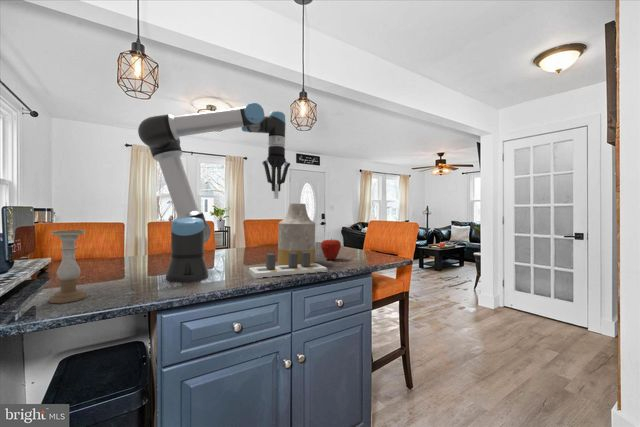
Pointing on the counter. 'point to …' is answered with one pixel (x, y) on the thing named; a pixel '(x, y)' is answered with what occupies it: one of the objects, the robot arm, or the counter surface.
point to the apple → (330, 248)
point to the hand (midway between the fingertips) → (275, 198)
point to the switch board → (284, 270)
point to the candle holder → (68, 269)
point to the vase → (296, 234)
